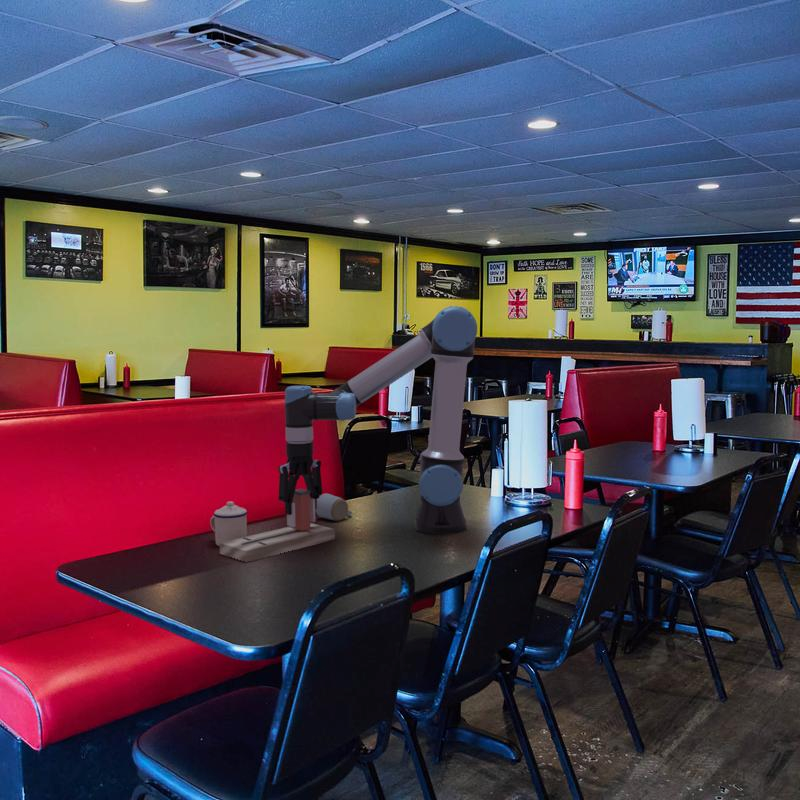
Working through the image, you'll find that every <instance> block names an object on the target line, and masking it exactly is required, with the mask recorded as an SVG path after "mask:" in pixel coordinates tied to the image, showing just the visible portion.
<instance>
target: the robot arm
mask: <svg viewBox="0 0 800 800" xmlns="http://www.w3.org/2000/svg"><path fill="white" fill-rule="evenodd" d="M434 317H435V318H433V319H432V320H431V321H430V322H429V323H427V324H426V325H425V326H424V327H422V328H420V330H419V334H417V335H416V336H415V337H413V338H412V339H410V340H409V341H406V343H404V344H402V345H401V346H399V347H398V348H396V349H394V350H393V351H391V352H390V353H389V354H387V355H386V356H384V357H383V358H381V359H380V360H378V361H377V362H375V363H374V364H372V365H371V366H369V367H367V368H366V369H365V370H364V369H363V371H361V372H360V373H358V374H357V375H356V376H354V377H352V378H350V379H349V380H348V381H346V382H345V383H343V384H342V385H340V386H339V387H336V388H335V389H333V390H332V391H330V392H320V393H319V392H314V391H313V388H312V387H311V386H310V385H290V386H287V387H286V388H285V391H284V392H285V393H284V403H283V404H284V416H285V417H284V420H285V441H286V443H285V454H286V457H287V460H286V462H285V464H283V465H278V466H277V470H278V473H279V476H278V477H279V479H278V481H279V482H278V496H277V497H278V501H279V502H282V503H284V513H285V515H286V525H287V527H289V526H292V527H295V526H296V524H295V503H292V502H293V497H294V493H295V490H297V489H296V488H297V485H298V480H300V476H302V478H303V481H304V484H305V487H306V490H309V491H311V494H310V523H315V522H317V520H316V508H317V499H318V498H319V497H320V496H321V495H322V494H323V486H322V485H323V483H322V472H321V467H322V461H321V460H318V459H313V456H314V442H313V440H314V426H313V422H314V421H343V422H344V421H347V420H348V421H349V420H350V421H351V420H354V419H355V418H356V415H357V408H358V406H360V405H361V404H363V403H364V402H366V401H367V400H369V399H370V398H372V397H373V396H375V395H377V393H380V392H381V391H382V390H384V389H386V388H387V387H388V386H390V385H392V384H393V383H395V382H396V381H398V380H400V379H401V378H403V377H404V376H406V375H407V374H409V373H410V372H412V371H414V370H415V369H416V368H418V367H419V366H421V365H422V364H424V363H426V362H428V361H429V360H430V359H432V358H433V359H434V361H435V365H434V374H433V376H434V378H433V389H432V398H431V399H432V400H431V411H430V421H429V422H430V423H429V433H428V446H427V448H426V449H425V450H423V451H422V452H420V456H419V461H418V462H419V472H420V473H419V479H418V489H419V492H420V503H419V507H418V510H417V512H416V518H415V519H414V529H415V531H416V532H417V531H418V532H420V533H425V534H430V535H451V534H458V533H461V532H464V531H465V530H466V529H467V520H466V517H465V515H464V514H465V513H464V512H463V508H462V504H461V494H462V492H463V488H464V482H463V476H464V475H463V473H464V462H465V460H464V459H465V456H464V455H463V454H462V453H461V451H460V447H461V444H460V443H461V434H462V423H463V412H464V401H465V390H466V380H467V369H468V368H467V367H468V364H469V363H470V362H471V361H472V360H473V359H474V355H475V354H474V353H475V352H474V351H475V345H476V344H475V341H476V337H477V335H478V324H477V323H478V322H477V320H476V317H474V314H472V312H471V311H469V310H468V309H466V308H465V307H462V306H458V305H454V306H452V305H450V306H447V307H445V308H442V310H440V311H439V312H437V314H436V315H435V316H434Z"/></svg>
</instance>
